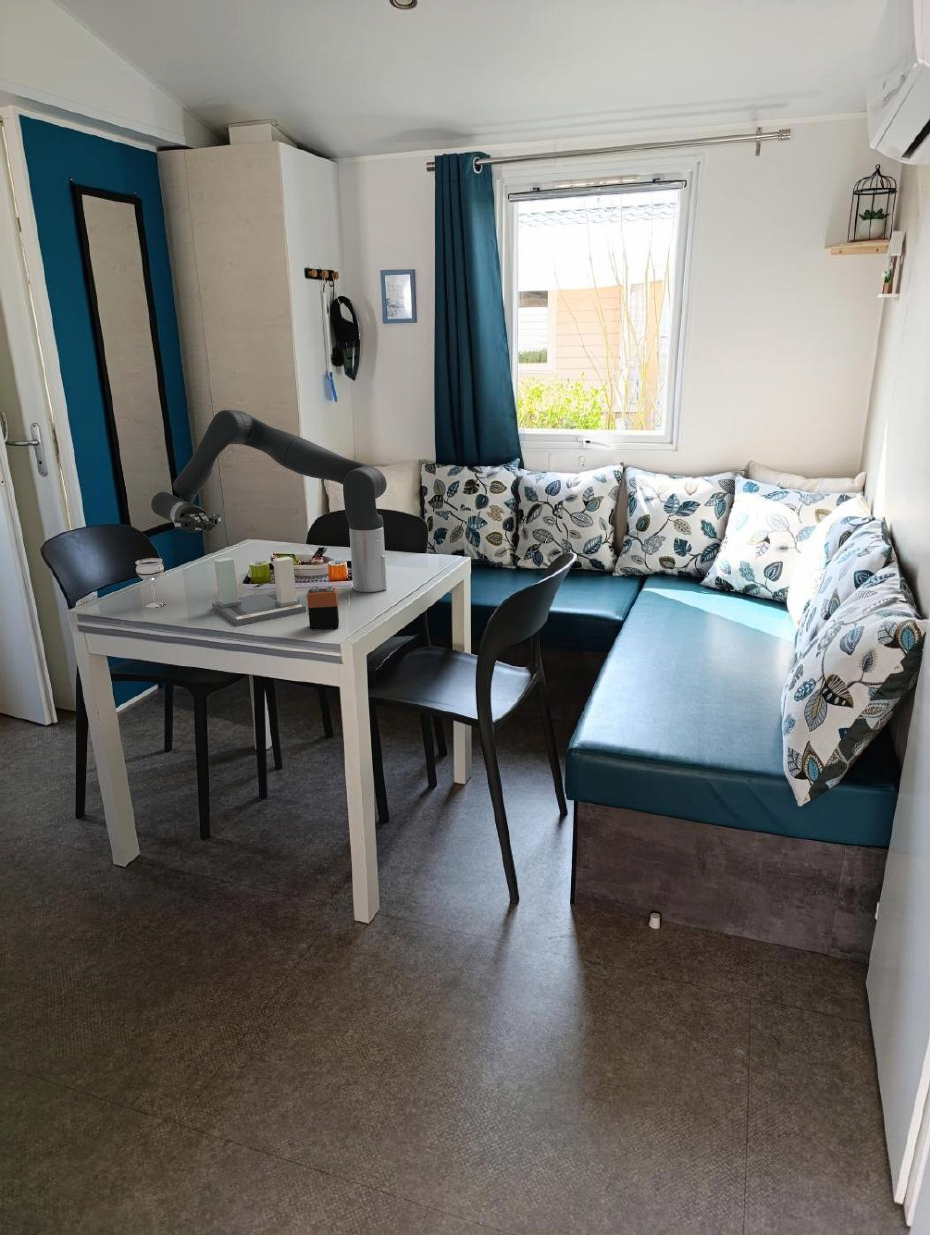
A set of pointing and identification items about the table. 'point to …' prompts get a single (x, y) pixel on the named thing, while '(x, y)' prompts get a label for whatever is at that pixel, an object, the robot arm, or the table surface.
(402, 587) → the table surface
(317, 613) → the battery
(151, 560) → the wineglass
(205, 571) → the table surface
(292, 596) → the cream tab
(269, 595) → the grey square tray
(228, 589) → the sage tab
